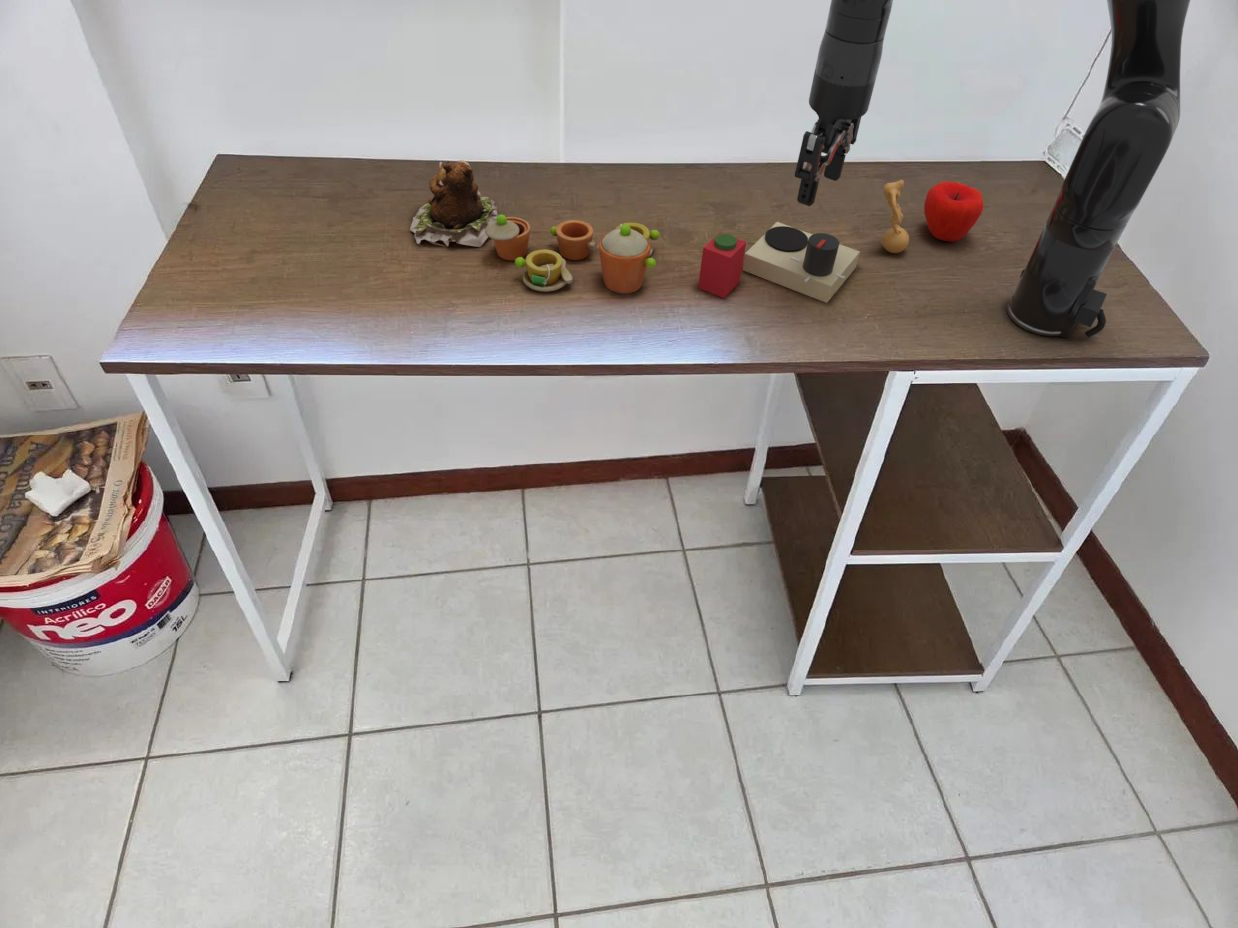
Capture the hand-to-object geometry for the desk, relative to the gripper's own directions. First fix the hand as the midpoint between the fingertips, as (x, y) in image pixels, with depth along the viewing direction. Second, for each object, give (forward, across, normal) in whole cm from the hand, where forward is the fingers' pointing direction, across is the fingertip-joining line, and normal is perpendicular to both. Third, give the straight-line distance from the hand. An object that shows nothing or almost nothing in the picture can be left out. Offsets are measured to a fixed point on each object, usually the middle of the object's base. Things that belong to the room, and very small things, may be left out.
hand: (818, 190), depth 119 cm
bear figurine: (+16, -18, +51) cm, 56 cm away
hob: (+15, +4, +2) cm, 16 cm away
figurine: (+16, +17, -7) cm, 24 cm away
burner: (+12, +5, +5) cm, 14 cm away
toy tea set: (+16, -16, +29) cm, 37 cm away
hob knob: (+12, +1, -2) cm, 13 cm away
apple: (+16, +27, -13) cm, 34 cm away
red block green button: (+15, -7, +9) cm, 19 cm away
